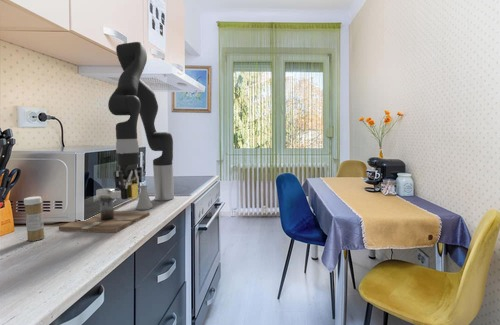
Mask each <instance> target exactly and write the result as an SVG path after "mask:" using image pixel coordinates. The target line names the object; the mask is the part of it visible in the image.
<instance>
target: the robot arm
mask: <svg viewBox="0 0 500 325" xmlns="http://www.w3.org/2000/svg"><path fill="white" fill-rule="evenodd" d="M115 50H116V56H117V59H118V61H119V63H120V64H119V65H120V66H121V69H122V72H121V74H120V76H119V78H118V82H117V87H116V88H115V90H113V93H112V94H111V96H110V97H109V99H108V103H107V104H108V105H107V107H108V111H109V112H110V113H111V114H112V115H113V116H114V115H115V116H129V118H128V120H126V121H121V122H118V123H116V124H115V139H116V140H115V141H116V143H115V150H116V151H115V153H116V163H117V164H116V165H117V166H119V167H120V168H119V170H115V171H114V172H113V175H114V182H115V189H119V190H120V191H121V198H120V199H121V200H129V199H128V189H127V187H128V183H138V196H140V193H139V192H140V191H139V190H140V183H142V182H143V167H142V166H137V165H140V152H139V151H140V150H139V141H138V119H139V116H140V119H141V122H142V124H143V129H144V132H145V136H146V140H147V141H146V142H147V144H148V147H149V149H151V150H152V151H154V152H161V155H159V157H155V158H154V159H152V166H153V167H152V168H153V187H154V188H153V190H154V200H155V201H170V200H173V199H174V198H175V191H174V190H175V189H174V188H175V187H174V173H173V172H174V170H173V169H174V168H173V160H174V159H173V158H174V140H173V136H172V134H171V133H170V132H167V131H166V132H165V131H164V132H161V131H160V132H159V131H157V130H156V125H155V120H156V118H157V115H158V112H159V104H158V100H157V97H156V94H155V92H154V90H152V89H151V87H150V86H149V85H147V83H145V82H144V81H143V80H142V79H141V76H142V73H143V72H144V69H145V66H146V64H147V61H148V60H147V59H148V55H147V50H146V48H145V45H144V44H143V43H142V42H140V41H133V42H127V43H126V42H125V43H120V44H117V45H116V47H115ZM124 184H125V185H124Z"/></svg>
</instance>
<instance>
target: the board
mask: <svg viewBox="0 0 500 325" xmlns="http://www.w3.org/2000/svg"><path fill="white" fill-rule="evenodd" d="M149 216H150V211H132V210H131V211H130V210H129V211H126V210H124V211H123V210H114V219H111V220H101V213H100V214H98V215H96V216H94V217H92V218H90V219H88V220H86V221H77V222H72V221H69V222H68V223H65V224H62V225H59V226H58V230H59V231H70V232H71V231H73V232H94V233H96V232H97V233H115V234H116V233H118V232H120V231H122V230H124V229H126V228H128V227H129V226H132V225H134V224H135V223H137V222H139V221H141V220H143V219H144V218H146V217H149Z"/></svg>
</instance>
